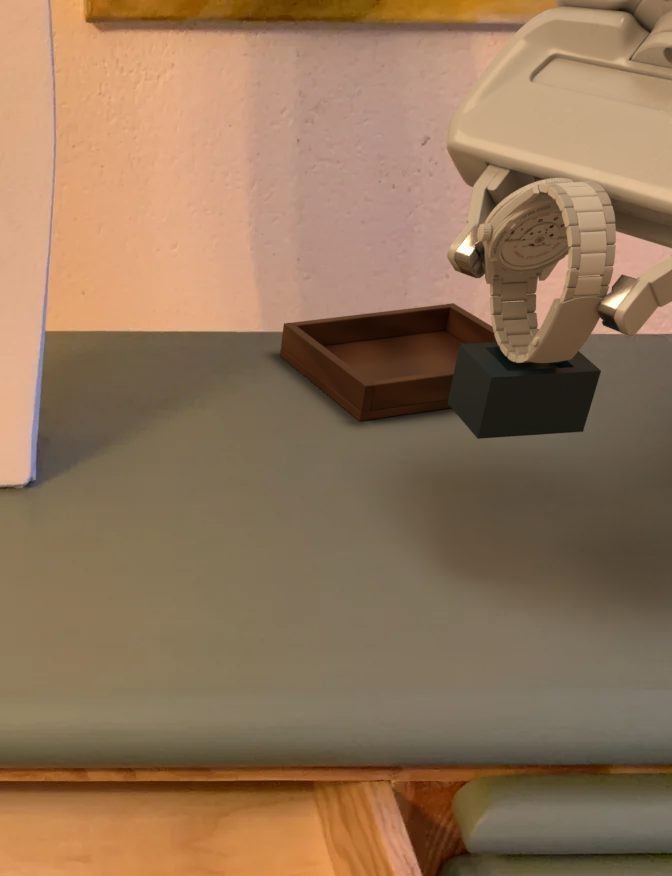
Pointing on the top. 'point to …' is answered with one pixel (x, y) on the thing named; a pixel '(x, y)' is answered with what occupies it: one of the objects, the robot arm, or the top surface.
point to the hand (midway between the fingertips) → (532, 294)
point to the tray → (384, 357)
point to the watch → (515, 324)
